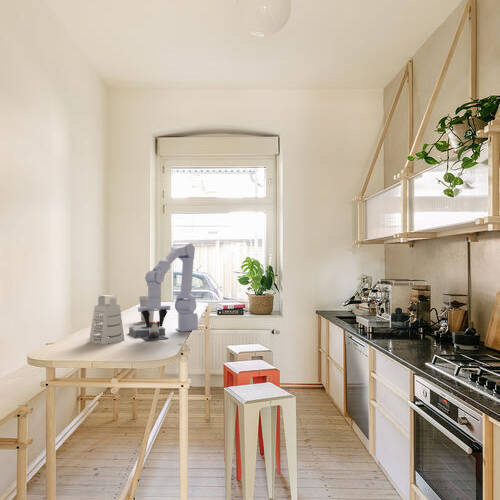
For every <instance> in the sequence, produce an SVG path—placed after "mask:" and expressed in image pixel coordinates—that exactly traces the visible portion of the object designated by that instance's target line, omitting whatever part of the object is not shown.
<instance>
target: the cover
mask: <svg viewBox="0 0 500 500" xmlns="http://www.w3.org/2000/svg"><path fill="white" fill-rule="evenodd" d="M148 337H149V338H158V337H159V321H158V320H153V321H149V328H148Z"/></svg>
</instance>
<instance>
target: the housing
mask: <svg viewBox="0 0 500 500" xmlns="http://www.w3.org/2000/svg"><path fill="white" fill-rule="evenodd" d="M128 334H130V335H131V336H132V337H134V338H141V337H143V336H148V328H147V327H146V325H139V326H138V325H137V326H134V325H133V326H128ZM159 335H163V336H165V335H166V328H165V327H163V326H162V327H161V326H159Z"/></svg>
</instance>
